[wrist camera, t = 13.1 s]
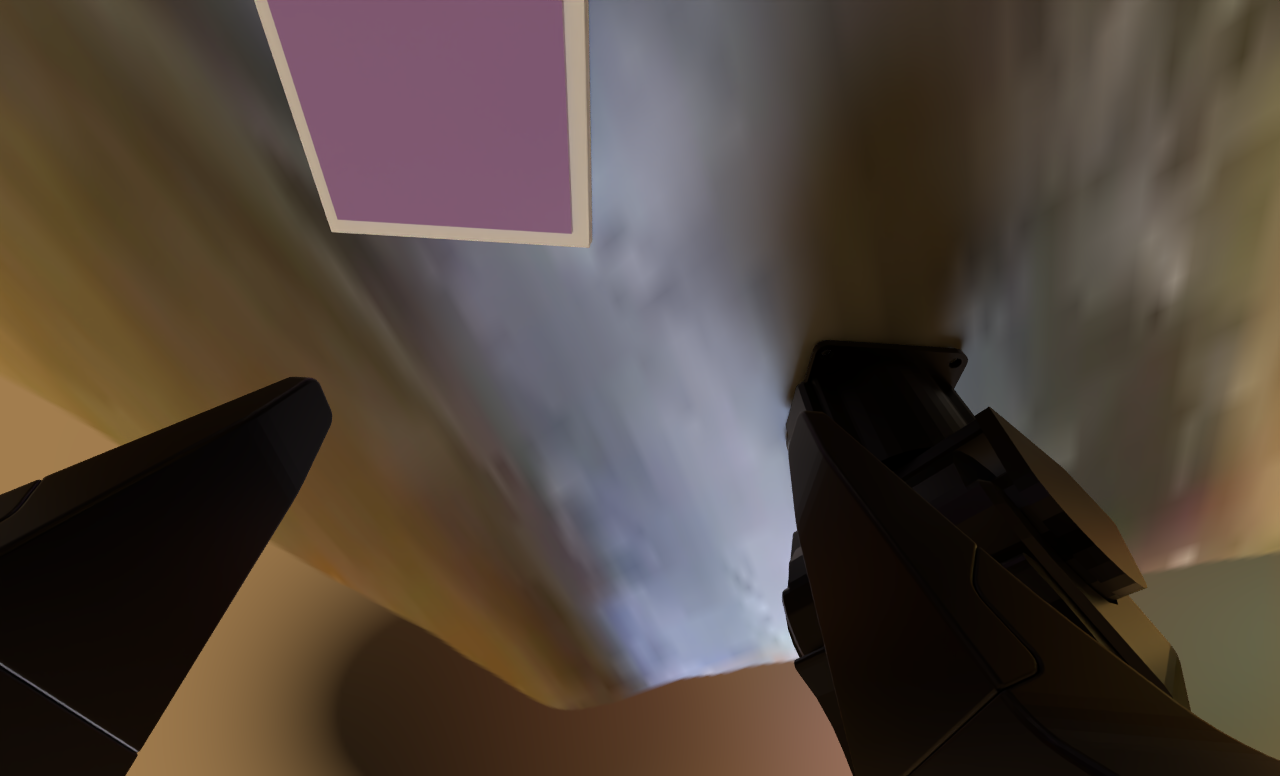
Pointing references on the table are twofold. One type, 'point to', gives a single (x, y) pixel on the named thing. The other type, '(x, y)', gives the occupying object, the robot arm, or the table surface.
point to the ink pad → (442, 114)
